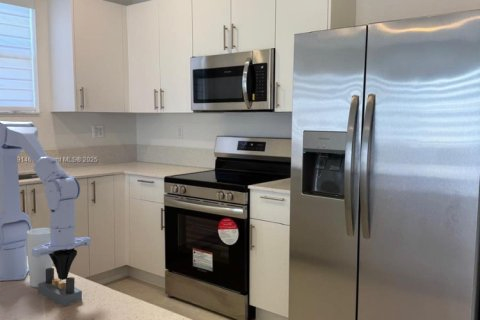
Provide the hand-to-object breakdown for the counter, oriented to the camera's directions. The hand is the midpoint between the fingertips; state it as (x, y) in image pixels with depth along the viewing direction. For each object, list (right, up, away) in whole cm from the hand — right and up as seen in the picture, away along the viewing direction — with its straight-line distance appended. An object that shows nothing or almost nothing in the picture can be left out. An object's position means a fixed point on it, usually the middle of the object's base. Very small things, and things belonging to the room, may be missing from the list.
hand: (62, 278), depth 107 cm
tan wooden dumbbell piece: (-1, -2, +1) cm, 3 cm away
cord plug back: (-5, -2, +4) cm, 7 cm away
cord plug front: (+3, -3, -2) cm, 4 cm away
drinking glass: (-10, -4, +8) cm, 13 cm away
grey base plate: (-1, -5, +1) cm, 5 cm away
